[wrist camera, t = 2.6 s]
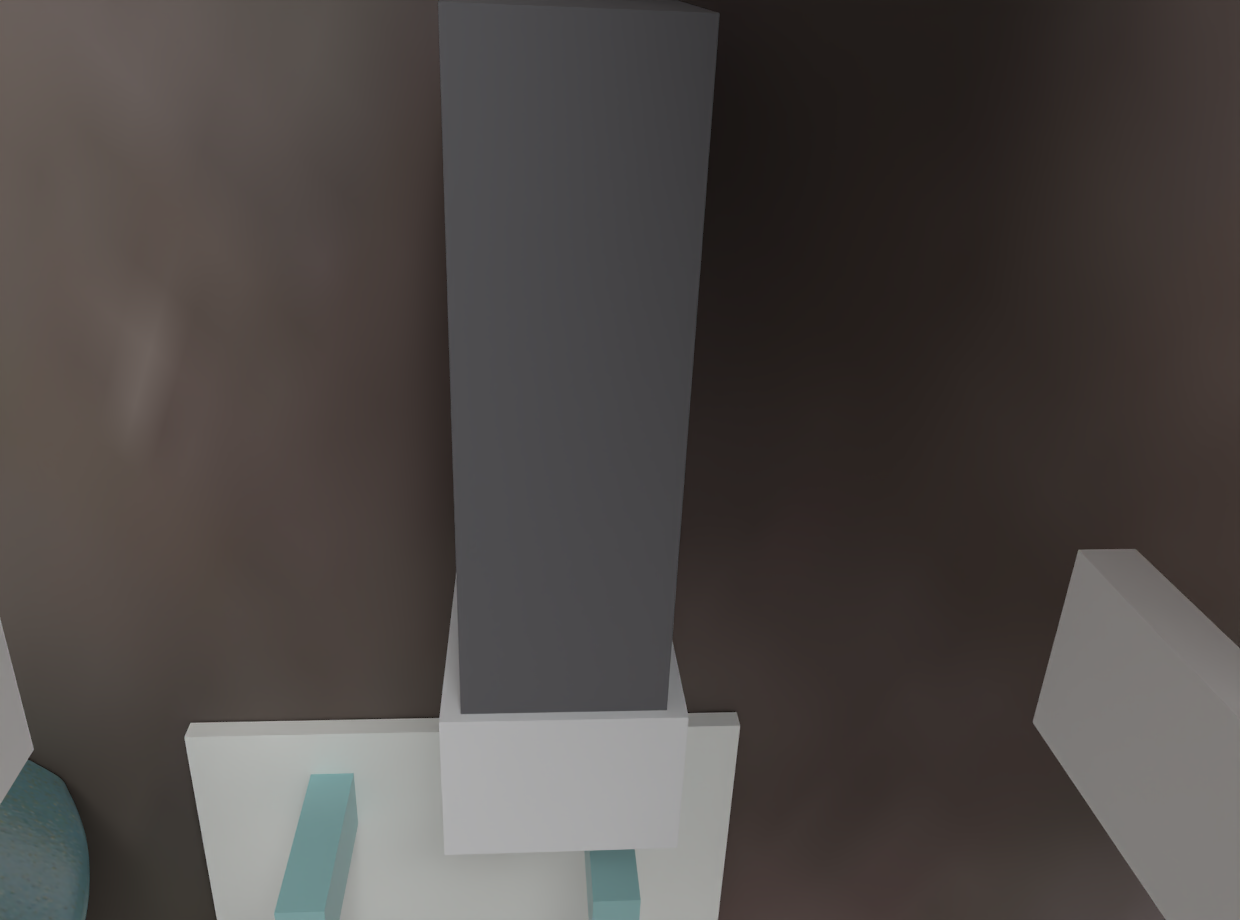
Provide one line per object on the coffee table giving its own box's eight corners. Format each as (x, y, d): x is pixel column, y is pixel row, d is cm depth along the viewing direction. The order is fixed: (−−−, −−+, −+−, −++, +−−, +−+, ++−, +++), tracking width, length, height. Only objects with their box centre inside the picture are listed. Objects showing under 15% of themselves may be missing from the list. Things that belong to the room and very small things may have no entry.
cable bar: (444, -13, 18) (406, 0, 13) (683, -4, 18) (750, 15, 13) (463, 648, 24) (444, 855, 19) (643, 645, 25) (677, 847, 19)
